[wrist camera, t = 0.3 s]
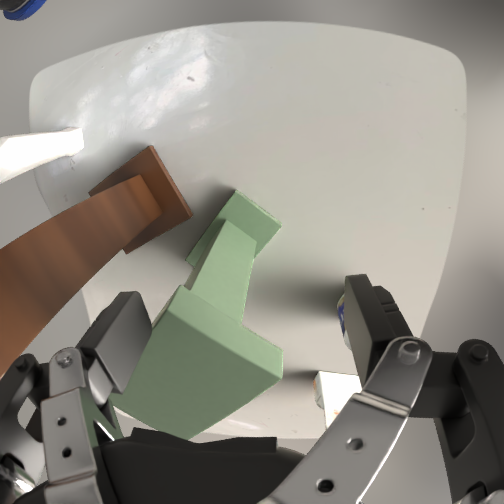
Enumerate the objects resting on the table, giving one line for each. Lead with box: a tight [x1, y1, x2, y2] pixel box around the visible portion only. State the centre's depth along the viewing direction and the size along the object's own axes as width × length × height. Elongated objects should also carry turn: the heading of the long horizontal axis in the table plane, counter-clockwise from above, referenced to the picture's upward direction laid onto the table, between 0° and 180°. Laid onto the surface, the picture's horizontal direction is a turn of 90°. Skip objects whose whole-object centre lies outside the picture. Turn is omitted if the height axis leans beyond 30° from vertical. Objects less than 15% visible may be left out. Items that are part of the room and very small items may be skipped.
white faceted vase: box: [0, 127, 84, 184], centre depth 22 cm, size 5×4×15 cm
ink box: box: [313, 371, 362, 430], centre depth 35 cm, size 3×9×12 cm, turn 78°
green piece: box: [109, 190, 283, 440], centre depth 23 cm, size 10×6×21 cm, turn 143°
